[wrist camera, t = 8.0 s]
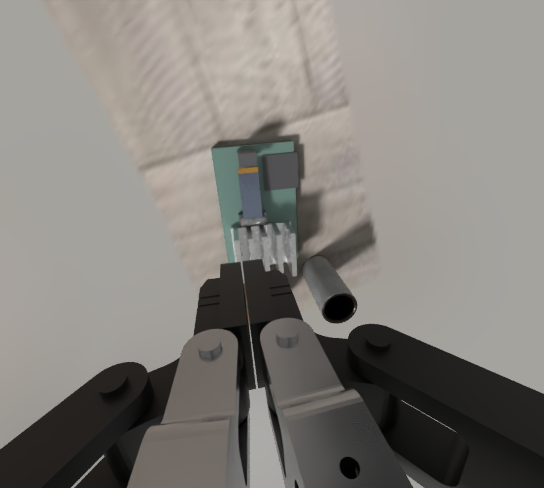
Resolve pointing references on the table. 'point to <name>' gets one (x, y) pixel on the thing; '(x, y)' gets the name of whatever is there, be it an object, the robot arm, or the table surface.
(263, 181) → the board
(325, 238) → the table surface
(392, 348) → the robot arm
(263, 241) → the heatsink
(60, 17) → the table surface
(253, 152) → the block
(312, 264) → the planter
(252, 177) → the blue-grey flat piece
